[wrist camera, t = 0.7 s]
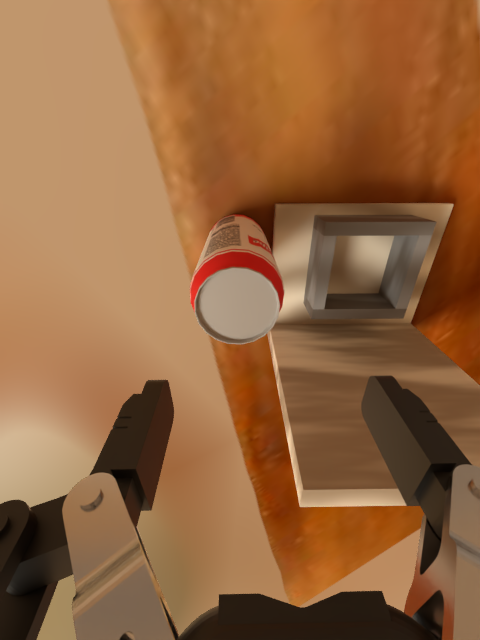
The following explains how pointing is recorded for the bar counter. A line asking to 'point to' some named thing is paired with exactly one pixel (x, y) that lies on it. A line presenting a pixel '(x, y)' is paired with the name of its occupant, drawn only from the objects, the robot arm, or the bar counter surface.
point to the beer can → (237, 282)
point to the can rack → (358, 342)
